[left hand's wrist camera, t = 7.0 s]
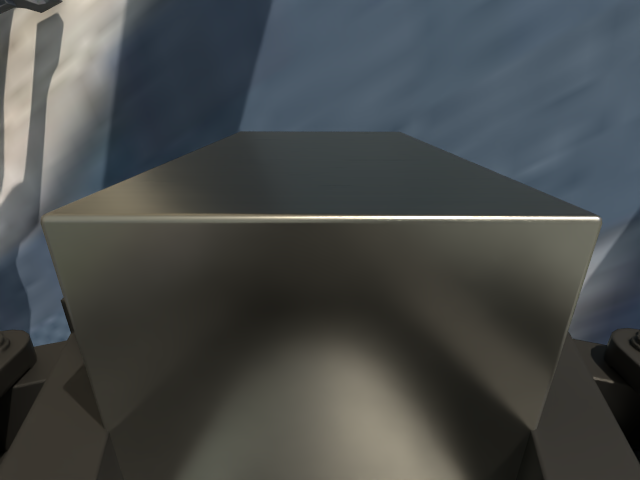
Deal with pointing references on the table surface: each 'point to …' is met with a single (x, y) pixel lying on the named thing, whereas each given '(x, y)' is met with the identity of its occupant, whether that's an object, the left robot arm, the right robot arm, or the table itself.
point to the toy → (28, 4)
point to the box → (320, 309)
